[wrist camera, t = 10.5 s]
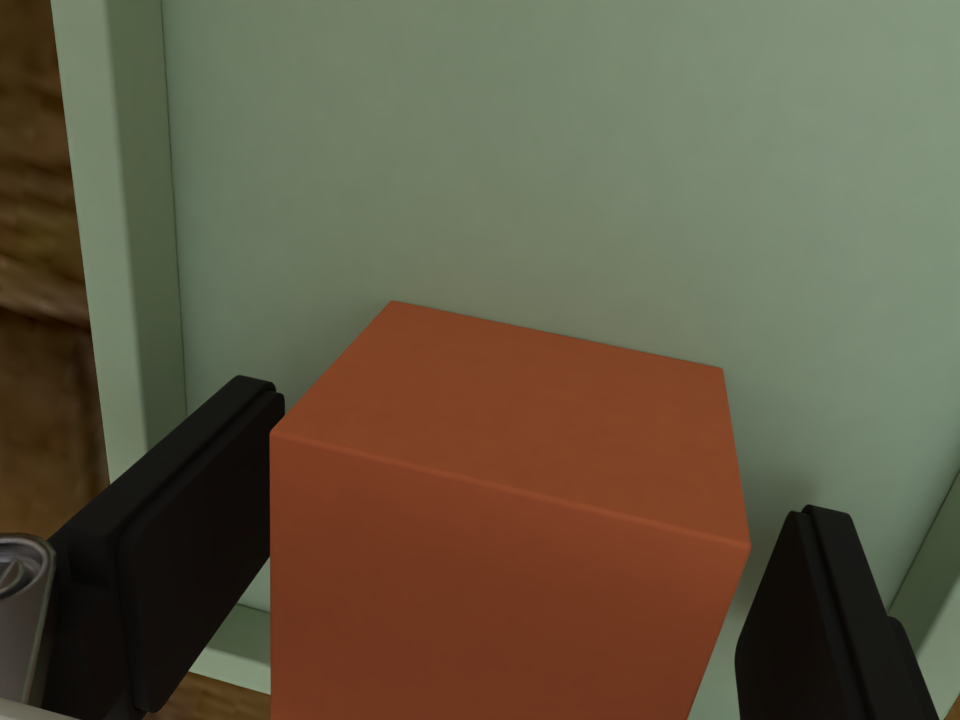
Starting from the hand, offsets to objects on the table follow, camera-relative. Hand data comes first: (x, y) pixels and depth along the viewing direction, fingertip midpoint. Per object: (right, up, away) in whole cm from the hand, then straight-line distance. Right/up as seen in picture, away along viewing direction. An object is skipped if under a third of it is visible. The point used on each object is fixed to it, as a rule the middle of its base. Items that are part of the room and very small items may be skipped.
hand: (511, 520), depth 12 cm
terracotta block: (0, 0, +1) cm, 1 cm away
